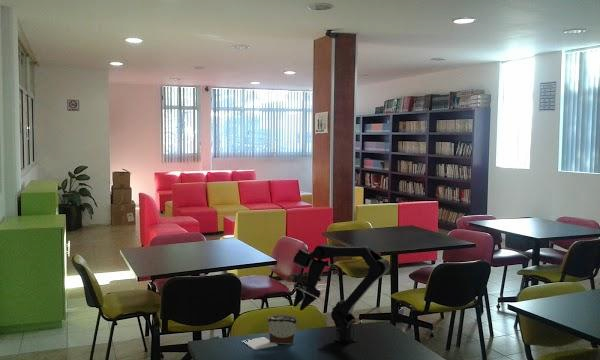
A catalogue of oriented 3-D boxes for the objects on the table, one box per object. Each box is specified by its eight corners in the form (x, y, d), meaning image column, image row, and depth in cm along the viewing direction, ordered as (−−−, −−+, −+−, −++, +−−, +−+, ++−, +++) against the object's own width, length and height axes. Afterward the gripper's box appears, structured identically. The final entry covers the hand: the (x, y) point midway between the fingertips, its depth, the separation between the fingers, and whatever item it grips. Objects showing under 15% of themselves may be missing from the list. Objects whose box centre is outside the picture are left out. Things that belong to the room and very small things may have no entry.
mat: (263, 337, 220) (263, 336, 220) (277, 345, 210) (277, 344, 210) (241, 341, 215) (241, 340, 215) (254, 350, 205) (254, 349, 205)
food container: (298, 340, 217) (299, 315, 217) (296, 344, 211) (298, 319, 211) (268, 338, 218) (269, 313, 218) (265, 342, 212) (267, 317, 212)
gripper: (291, 262, 227) (274, 296, 224) (304, 266, 209) (286, 303, 206) (313, 274, 230) (297, 307, 227) (328, 279, 212) (310, 315, 209)
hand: (297, 308), depth 217 cm, fingers open, 9 cm apart
